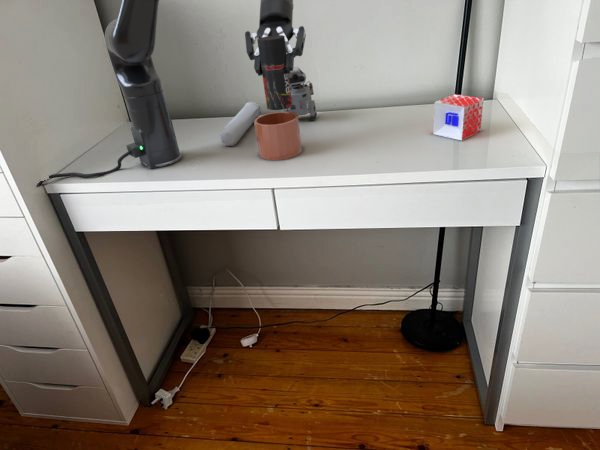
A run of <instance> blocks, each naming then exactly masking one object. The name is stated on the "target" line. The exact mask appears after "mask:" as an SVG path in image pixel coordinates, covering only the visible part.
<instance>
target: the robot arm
mask: <svg viewBox="0 0 600 450" xmlns="http://www.w3.org/2000/svg"><path fill="white" fill-rule="evenodd" d="M159 5H160V0H121V3H120V7H119V11H118V16H117V18H115V19H113V20H112V21H110V22H109V23H108V25H107V26H106V28H105V31H104V43H105V48H106V51H107V54H108V57H109V59H110V64H111V67H112V70H113V72H114V75H115V78H116V81H117V83H118V85H119V87H120V89H121V92H122V95H123V99H124V101H125V105H126V109H127V112H128V115H129V119H130V122H131V125H132V126H130V132H131V135H132V138H133V142H131V143H129V144H126V149H127V151H126V152H125V153H123V154H122V155H121V156H120V157H118V159H117V165H116V166H115V167H114V168H111V169H110V170H106V171H101V172H93V173H81V172H65V173H64V172H63V173H54V174H53V173H52V174H49V175H50V176H49V175H48V176H49V178H50V179H47V180H44V181H40V180H39V181H40V182H39V181H38V182H39V183H38V182H37V184H36V185H35V187H37V188H38V187H41V186H42V185H43V184H44V182H47V181H48V180H51V179H56V178H65V177H79V178H80V177H81V178H94V177H101V176H105V175H106V176H107V175H108V174H111V173H113V172H116V171H119V170H120V169H121V168H122V161H123V160H124V159H125V158H127V157H129V156H131V157H133V158H135V159H138V158H139V161H140V164H141V165H143V166H145V167H147V168H149V169H151V170H153V169H155V168H160V167H166V166H170V165H173V164H174V163H177V162H179V161H180V160H181V158H182V154H181V152H180V147H179V144H178V140H177V136H176V133H175V132H176V131H175V127H174V124H173V120H172V117H171V113H170V109H169V105H168V100H167V97H166V93H165V89H164V84H163V82H162V79H161V76H160V75H159V74H158V72H157V70H156V67H155V64H154V60H153V57H152V55H153V53H154V50H155V48H156V39H157V25H158V14H159ZM259 5H260V6H259V22H258V23H259V24H258V25H259V26H258V29H257V30H256V32H252V33H251V32H250V31H249V30H247V31H245V33H244V38H245V39H244V40H245V48H246V50H245V51H246V54H247V56H248V58H249V60H250V61H254V64H253V70H254V72H255V73H256V74H257V75H258V76H259V77H260V76H261V77H263V76H262V69H261V62H260V55H259V48H258V46H257V47H256V49H255V46H254V45H255V44H256V42H257V39H259V38H262V37H267V36H276V35H283V36H284V37H285V46H286V71H287V74H289V73H291V71H293V69H294V67H295V66H294V63H295V58H296V57H301V56H303V54H304V47H305V42H306V38H307V37H306V36H307V35H306V30H305V27H304V26H303V25H301V26H299V27H298V28H294V27H293V18H294V0H260V4H259ZM294 36H295V39H296V41H295V47H293V48H292V46H291V44H290V41H291V39H292V38H293V37H294Z"/></svg>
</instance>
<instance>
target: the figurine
mask: <svg viewBox="0 0 600 450" xmlns="http://www.w3.org/2000/svg"><path fill="white" fill-rule="evenodd" d="M306 80H307V74H306V73H305V72H303V71H302V70H301V68H300V67H299V66H294V69H293V71H291V73H289V81H290V89H291V98H292V106H291V107H289V108H287V109H283V112H292V113H295V114H297V115H298V117H299V116H306V115H308V114H309V120H310V122H314V121H316V119H317V116H318V112H317V108H316V102H315V100H314V99H312V95H314V93H315V92H314V87H313V83H312V82H310V80H309V81H307V82H306Z"/></svg>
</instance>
